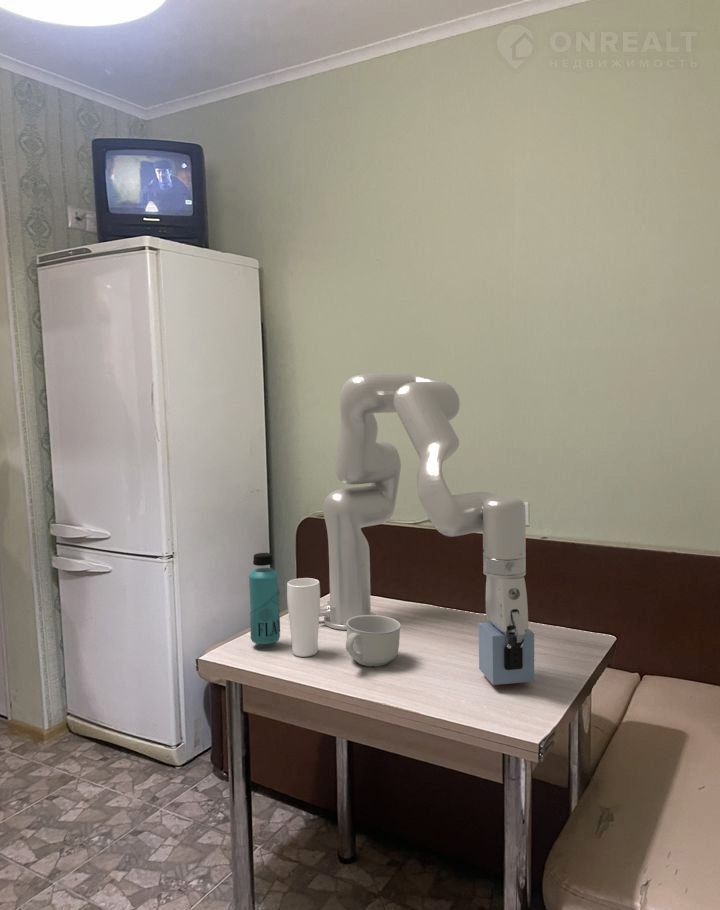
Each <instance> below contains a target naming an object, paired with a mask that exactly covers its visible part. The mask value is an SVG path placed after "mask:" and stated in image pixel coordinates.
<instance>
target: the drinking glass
mask: <svg viewBox="0 0 720 910" xmlns="http://www.w3.org/2000/svg"><path fill="white" fill-rule="evenodd" d="M286 599H287V600H286V601H287V611H288V621H289V629H290V637H291V639H290V640H291V653H293V655H295V657H296V656H297V657H302V658H308V657H312V656H315V655H316V654H317V653H318V651H319V628H320V627H319V626H320V617H319V613H320V607H321V586H320V580H318V579H315V578H310V577H303V578H302V577H301V578H300V577H299V578H294V579H290V580H289V581H287V582H286Z"/></svg>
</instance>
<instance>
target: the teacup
mask: <svg viewBox="0 0 720 910" xmlns="http://www.w3.org/2000/svg"><path fill="white" fill-rule="evenodd" d="M401 627H402V624H401V622H399V620H397V619H395V618H392V617H389V616H386V615H379V614H376V615H361V616H355V617H353V618H350V619H349V620H348V621H347V630H346V639H345V640H346V641H345V650H346V651H347V653H348V655H349V656H350V657H351V658H353V660H355V662H356V663H358V664H359V665H362V666H365V667H372V666H375V667H382V666H386V665H388V664H389V662H390V661H393V660H394V659H395V658H396V656H397V655H398V653H399V648H400V637H401V635H400V634H401V633H400V632H401ZM381 665H382V666H381Z"/></svg>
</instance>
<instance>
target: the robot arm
mask: <svg viewBox="0 0 720 910" xmlns="http://www.w3.org/2000/svg"><path fill="white" fill-rule="evenodd" d="M460 407H461V402H460V396H459V394H458V392H457V391H456V389H455V388H454V387H453V386H452V385H451V384H450V383H447V382H446V381H441V380H437V379H434V378H428V377H425V376H420V375H417V374H412V373H411V374H409V373H385V372H384V373H381V372H380V373H379V372H378V373H377V372H376V373H375V372H373V373H372V372H371V373H361V374H357V375H353V376H351V377H350V378H348V379H347V380H346V381H345V382H344V384H343V386H342V389H341V391H340V395H339V413H340V427H339V433H338V441H337V450H336V459H335V465H334V466H335V469H334V470H335V475H336V478H337V480H338V481H339V482H340V483H342V484H345V485H363V486H353V487H344V488H339V489H336V490H333V491H332V492H330V493H329V494H328V495H327V496H326V497H325V499H324V501H323V502H324V503H323V505H322V507H323V508H322V510H323V518H324V522H325V525H326V526H325V527H326V531H327V540H328V541H327V543H328V565H329V566H328V567H329V569H328V570H329V575H328V577H329V600H328V601H327V604H323V605H322V606H320V613H319V618H320V617H323V623H324V625H326V627H328V628H331V629H335V630H342V631H347V621H348V620H349V619H350V618H353V617H355V616H361V615H377V614H376V613H374V612H373V611H371V607H372V606H371V605H372V604H371V561H370V560H371V555H370V553H371V552H370V545H369V542H368V539H367V538H366V536H365V534H364V533H363V531H362V528H366V527H373V526H378V525H382V524H385V523H388V521H389V520H390V519H391V518H392V517H393V515H394V512H395V506H396V502H397V495H398V491H399V484H400V477H401V466H402V464H401V463H402V462H401V458H400V453H399V452H398V449H397V448H396V447H395V446H394V445H393V444H392V443H390V442H388V441H383V440H382V441H381V440H378V441H377V438H378V432H379V431H378V430H379V428H378V423H377V419H376V417H375V415H374V414H378V413H379V414H380V413H381V414H382V413H387V414H388V413H389V414H391V413H393V414H394V413H397V416H398V417H399V420H400V422H401V424H402V425H403V428H404V429H405V432H406V434H407V436H408V438H409V440H410V442H411V443H412V445H413V448H414V449H415V452H416V453H417V456H418V457H419V465H418V468H417V469H418V470H417V475H416V476H417V477H416V482H417V483H416V486H417V494H418V497H419V498H418V499H419V501H420V503H421V505H422V508H423V509H424V511H425V513H426V515H427V517H428V519H429V521H430V523H431V524H432V526H433V527H434V528H435V530H437V532H438V533H440V534H442V535H443V536H446V537H450V538H451V537H458V536H459V537H460V536H465V535H469V534H475V533H480V532H482V550H483V551H482V555H483V556H482V558H483V559H482V561H483V562H482V563H483V566H482V567H483V575H485V576H486V582H485V613H486V614H485V616H486V619H487V620H488V622H491V623H492V624H493V625H494V626H496V627H497V628H498V629H499V630H500V631H502V632H503V633H504V635H505V642H506V647H504V668H505V669H506V670H515V669H522V667H523V641H524V639H523V638H524V636H525V632H526V631H527V630H528V629H529V612H528V595H527V587H526V586H527V585H526V580H525V576H526V573H527V571H526V570H527V568H526V567H527V566H526V565H527V562H526V560H527V559H526V557H527V556H526V555H527V553H526V552H527V551H526V544H527V542H526V529H527V528H526V503H525V502H524V501H523V500H522V498H519V497H515V496H514V497H513V496H500V495H496V494H494V493H491V492H487V491H474V492H465V493H458V494H452V493H451V490H450V489H449V486H448V485H447V483H446V480H445V478H444V475H443V463H444V461H446V460H448V459H449V458H450V457H451V456H453V455H454V454H455V452H457V450H458V448H459V446H460V439H459V437H458V435H457V433H456V431H455V430H454V428H453V426H452V425H451V422H450V421H452V420H453V419H454V418H456V417H457V415H458V413H459V411H460ZM365 484H368V485H365ZM507 627H514V629H511V630H507ZM509 634H515V636H513V637H512V638H511V640H510V636H509Z"/></svg>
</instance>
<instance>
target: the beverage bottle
mask: <svg viewBox="0 0 720 910" xmlns="http://www.w3.org/2000/svg"><path fill="white" fill-rule="evenodd" d="M273 563H274V560H273V554H272V553H270V552H259V553H254V554H253V560H252V564H253V565H254V566H256V567H257V566H258V568H255V569H253V570H252V571H251V572H250V573H249V574H248V582H249V584H248V585H249V588H248V589H249V608H250V609H249V619H250V620H249V621H250V622H249V623H250V624H249V625H250V631H249V632H250V640H251V642H252V643H254V644H258V645H269V644H274V643H275V642H276V643H277V642H278V641H279V640H280V638H281V620H280V619H281V614H280V612H281V611H280V606H281V605H280V589H279V574H278V572H277V571H276V569H274V568H272V567H265V566H270V565H273Z"/></svg>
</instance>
